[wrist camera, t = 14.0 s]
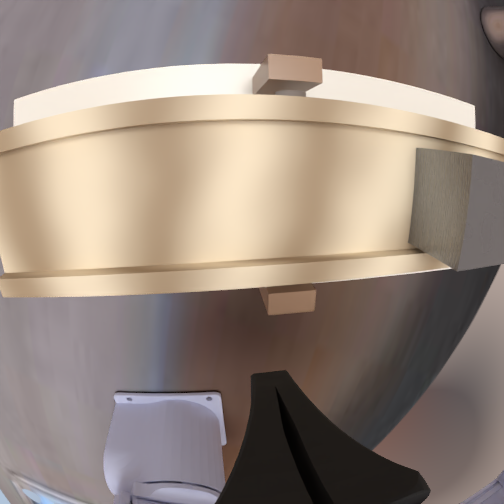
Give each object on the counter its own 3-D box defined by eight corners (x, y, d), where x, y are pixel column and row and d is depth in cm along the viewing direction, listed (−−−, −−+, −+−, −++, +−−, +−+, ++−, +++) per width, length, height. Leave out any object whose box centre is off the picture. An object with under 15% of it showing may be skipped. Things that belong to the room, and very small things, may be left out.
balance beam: (27, 284, 14) (5, 305, 12) (5, 128, 11) (-24, 128, 9) (474, 253, 18) (499, 266, 16) (487, 132, 15) (515, 135, 13)
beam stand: (44, 289, 19) (6, 331, 13) (21, 100, 14) (-31, 94, 9) (453, 263, 23) (497, 291, 18) (466, 106, 18) (519, 106, 13)
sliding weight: (407, 242, 15) (457, 271, 11) (416, 147, 13) (472, 154, 9) (466, 239, 15) (512, 262, 12) (475, 158, 14) (526, 168, 10)
